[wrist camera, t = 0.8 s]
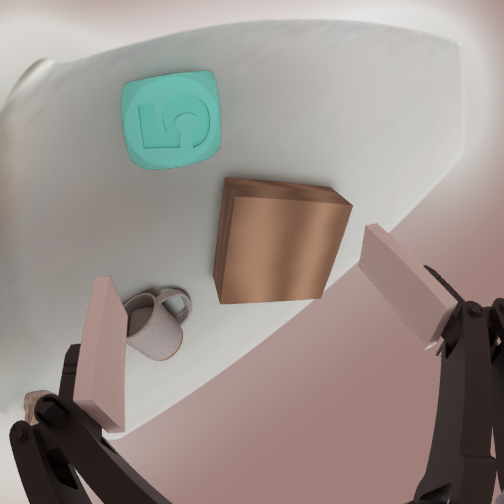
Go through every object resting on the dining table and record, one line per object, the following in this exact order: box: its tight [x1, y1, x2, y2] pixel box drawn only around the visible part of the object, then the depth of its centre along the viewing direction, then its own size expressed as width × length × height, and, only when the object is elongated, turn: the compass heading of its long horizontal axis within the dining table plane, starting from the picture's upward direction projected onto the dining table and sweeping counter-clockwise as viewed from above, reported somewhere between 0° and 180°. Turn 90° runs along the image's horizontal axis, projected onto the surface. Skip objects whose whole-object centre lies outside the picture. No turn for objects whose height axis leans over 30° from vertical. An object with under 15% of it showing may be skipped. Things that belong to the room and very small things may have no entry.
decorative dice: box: [121, 71, 221, 169], centre depth 25 cm, size 8×8×8 cm
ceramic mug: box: [123, 289, 192, 361], centre depth 39 cm, size 10×8×7 cm
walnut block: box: [213, 178, 353, 304], centre depth 37 cm, size 14×14×6 cm
